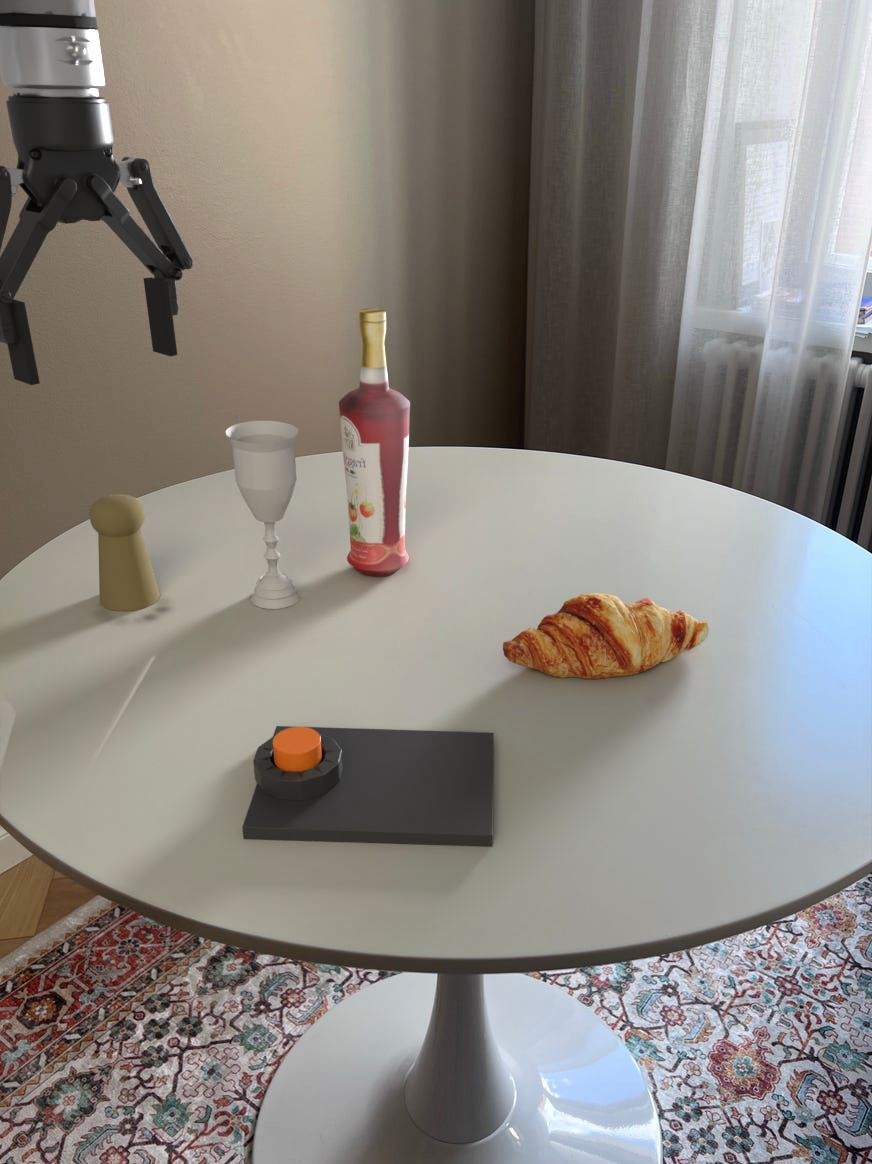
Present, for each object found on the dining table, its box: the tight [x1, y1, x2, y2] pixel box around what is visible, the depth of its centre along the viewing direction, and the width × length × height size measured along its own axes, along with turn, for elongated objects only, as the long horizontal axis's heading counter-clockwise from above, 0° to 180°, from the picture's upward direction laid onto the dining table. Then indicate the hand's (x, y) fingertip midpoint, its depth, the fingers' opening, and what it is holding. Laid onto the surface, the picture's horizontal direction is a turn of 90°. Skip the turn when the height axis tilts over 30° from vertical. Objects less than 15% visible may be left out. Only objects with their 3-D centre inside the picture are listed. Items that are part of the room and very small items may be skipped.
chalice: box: [225, 420, 301, 610], centre depth 103 cm, size 7×7×18 cm
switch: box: [273, 726, 322, 772], centre depth 78 cm, size 4×4×2 cm
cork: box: [88, 493, 161, 612], centre depth 104 cm, size 6×6×11 cm
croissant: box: [502, 592, 710, 680], centre depth 97 cm, size 21×10×8 cm, turn 109°
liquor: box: [338, 307, 411, 578], centre depth 108 cm, size 7×7×28 cm
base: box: [241, 725, 494, 848], centre depth 79 cm, size 18×13×3 cm
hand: (99, 367), depth 90 cm, fingers open, 13 cm apart
